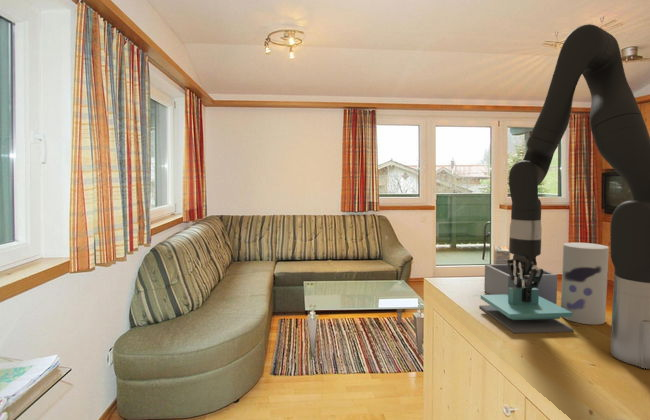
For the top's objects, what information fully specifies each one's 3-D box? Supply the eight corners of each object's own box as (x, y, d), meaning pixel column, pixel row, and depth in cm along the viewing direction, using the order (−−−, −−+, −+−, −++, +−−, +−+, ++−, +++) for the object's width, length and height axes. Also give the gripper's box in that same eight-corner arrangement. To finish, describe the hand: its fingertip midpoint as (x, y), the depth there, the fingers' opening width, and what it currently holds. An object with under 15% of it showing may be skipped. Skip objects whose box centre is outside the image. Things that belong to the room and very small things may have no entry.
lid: (571, 321, 96) (572, 296, 96) (509, 322, 96) (510, 298, 95) (534, 301, 112) (534, 280, 112) (480, 302, 111) (480, 281, 111)
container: (561, 321, 102) (565, 246, 100) (559, 309, 111) (562, 240, 109) (608, 327, 97) (612, 249, 96) (601, 315, 106) (605, 243, 104)
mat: (573, 331, 95) (573, 329, 95) (514, 333, 94) (514, 330, 94) (529, 306, 114) (529, 304, 114) (479, 307, 113) (479, 305, 113)
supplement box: (492, 281, 142) (493, 245, 141) (506, 282, 141) (507, 246, 139) (494, 286, 134) (495, 249, 133) (509, 288, 133) (510, 250, 132)
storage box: (556, 304, 115) (557, 274, 115) (507, 305, 115) (508, 275, 114) (527, 290, 130) (528, 263, 130) (484, 291, 130) (484, 264, 129)
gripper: (555, 240, 96) (553, 308, 97) (524, 232, 109) (522, 292, 111) (526, 240, 95) (524, 309, 97) (498, 232, 109) (496, 292, 110)
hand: (523, 299), depth 104 cm, fingers closed on lid, 2 cm apart
